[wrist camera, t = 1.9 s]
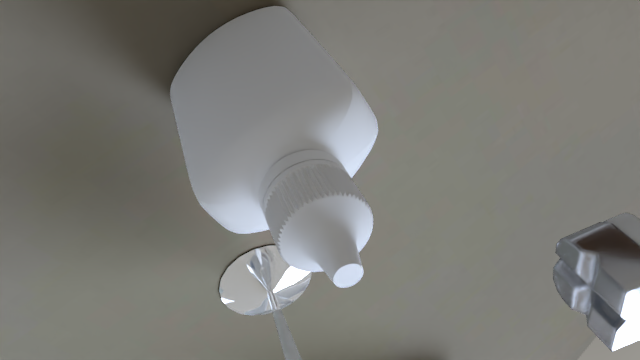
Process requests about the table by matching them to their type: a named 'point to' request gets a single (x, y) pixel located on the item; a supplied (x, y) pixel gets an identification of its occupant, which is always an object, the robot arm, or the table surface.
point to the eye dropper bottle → (278, 140)
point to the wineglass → (265, 289)
